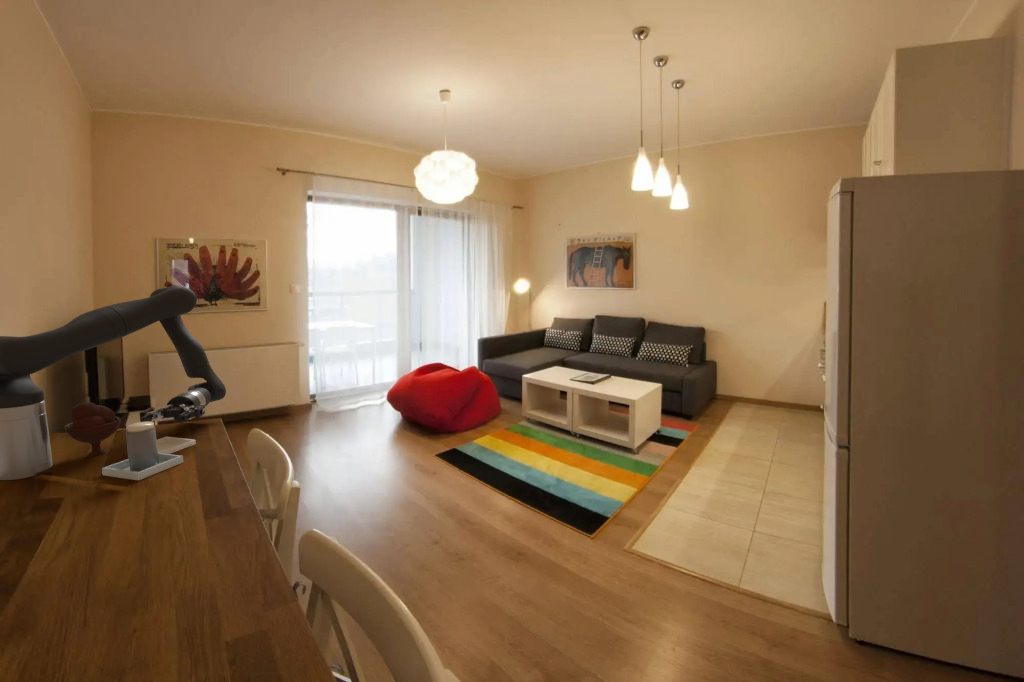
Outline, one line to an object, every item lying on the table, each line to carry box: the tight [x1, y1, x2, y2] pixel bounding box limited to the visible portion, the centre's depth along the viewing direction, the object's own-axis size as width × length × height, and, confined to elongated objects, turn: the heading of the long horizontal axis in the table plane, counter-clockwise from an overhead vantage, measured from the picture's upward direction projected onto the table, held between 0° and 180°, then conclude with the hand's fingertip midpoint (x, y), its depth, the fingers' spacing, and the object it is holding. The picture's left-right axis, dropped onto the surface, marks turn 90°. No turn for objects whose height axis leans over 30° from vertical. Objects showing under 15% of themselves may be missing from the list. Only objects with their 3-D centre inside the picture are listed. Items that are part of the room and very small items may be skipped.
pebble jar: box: [125, 421, 159, 472], centre depth 110 cm, size 6×6×11 cm
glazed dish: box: [101, 453, 184, 481], centre depth 111 cm, size 11×11×2 cm
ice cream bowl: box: [63, 401, 122, 458], centre depth 119 cm, size 11×11×15 cm
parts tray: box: [156, 436, 197, 454], centre depth 124 cm, size 10×10×2 cm
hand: (162, 420), depth 120 cm, fingers open, 8 cm apart
